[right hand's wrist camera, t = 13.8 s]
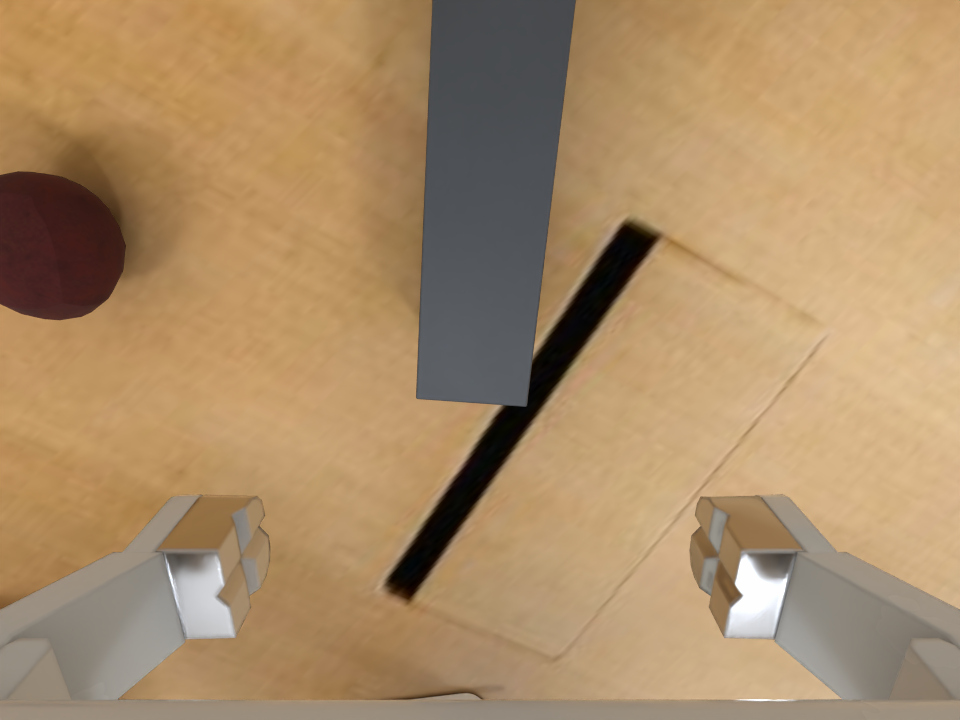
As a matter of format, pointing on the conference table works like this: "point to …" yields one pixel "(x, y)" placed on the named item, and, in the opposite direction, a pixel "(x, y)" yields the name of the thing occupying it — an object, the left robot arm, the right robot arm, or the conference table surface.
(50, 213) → the potato
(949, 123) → the conference table surface
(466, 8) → the bar
